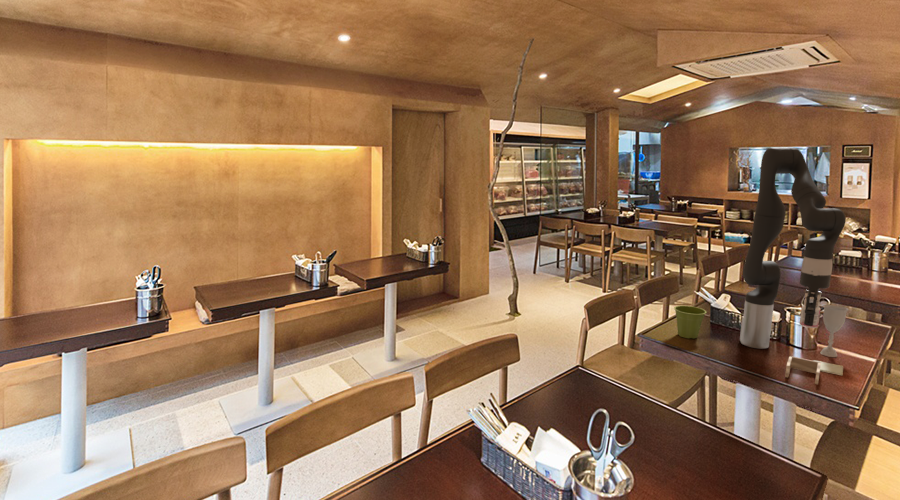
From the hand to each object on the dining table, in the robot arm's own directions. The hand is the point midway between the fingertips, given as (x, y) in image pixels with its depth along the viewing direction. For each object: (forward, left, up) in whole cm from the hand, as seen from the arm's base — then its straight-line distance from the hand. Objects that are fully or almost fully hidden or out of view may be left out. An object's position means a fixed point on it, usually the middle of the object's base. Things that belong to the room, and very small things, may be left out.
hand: (808, 322), depth 150 cm
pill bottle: (0, 0, -1) cm, 1 cm away
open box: (-2, +2, -19) cm, 19 cm away
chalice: (-19, +24, -19) cm, 36 cm away
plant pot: (-39, -18, -19) cm, 47 cm away
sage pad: (-7, +14, -19) cm, 25 cm away
